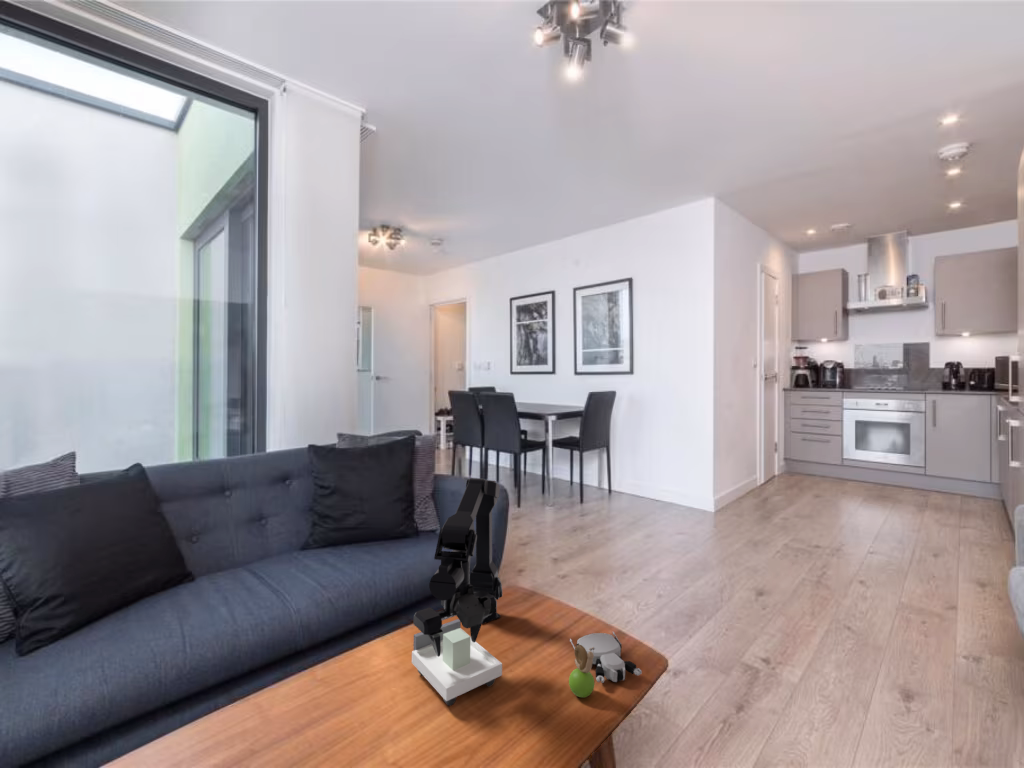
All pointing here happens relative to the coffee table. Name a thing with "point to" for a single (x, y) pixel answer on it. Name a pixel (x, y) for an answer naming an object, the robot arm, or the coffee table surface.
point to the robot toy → (607, 656)
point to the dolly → (460, 679)
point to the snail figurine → (582, 673)
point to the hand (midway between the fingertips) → (456, 648)
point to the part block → (456, 648)
